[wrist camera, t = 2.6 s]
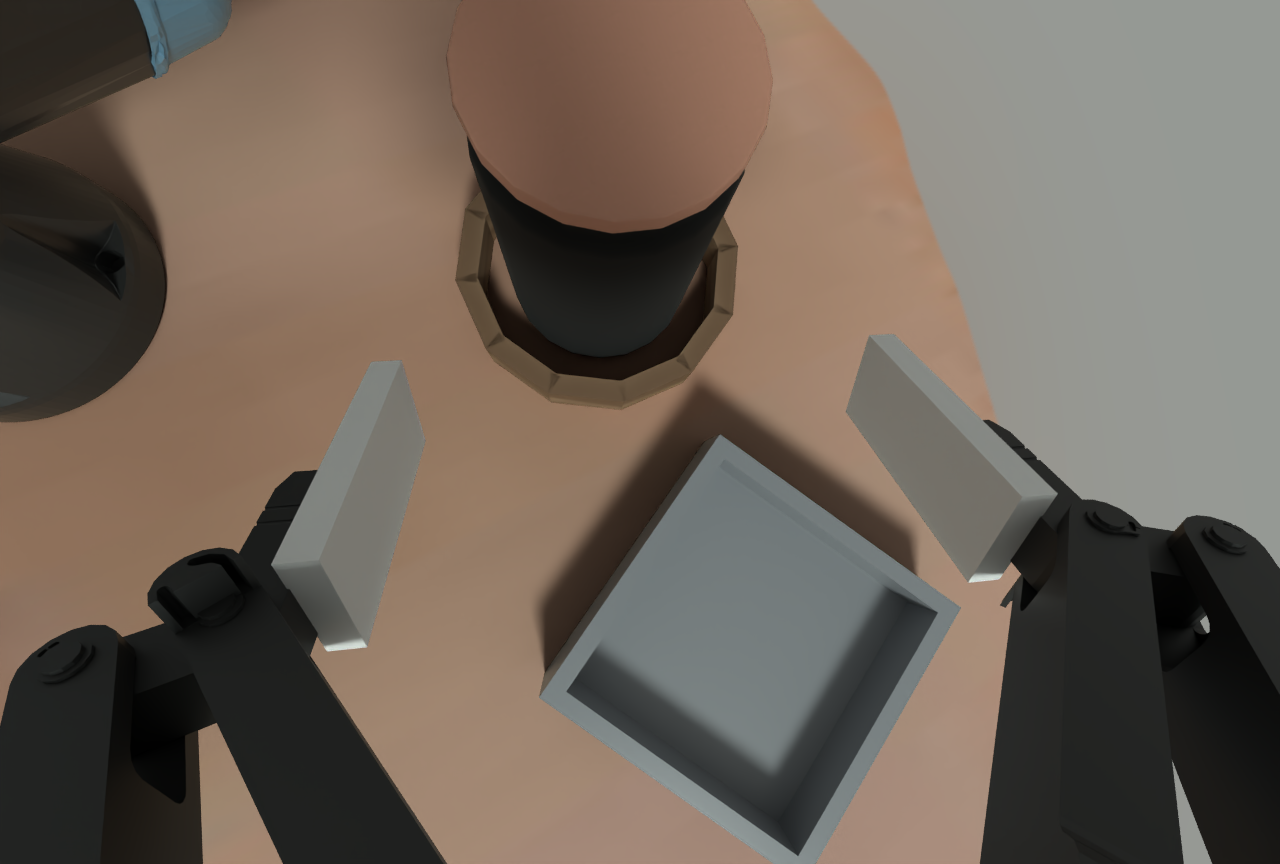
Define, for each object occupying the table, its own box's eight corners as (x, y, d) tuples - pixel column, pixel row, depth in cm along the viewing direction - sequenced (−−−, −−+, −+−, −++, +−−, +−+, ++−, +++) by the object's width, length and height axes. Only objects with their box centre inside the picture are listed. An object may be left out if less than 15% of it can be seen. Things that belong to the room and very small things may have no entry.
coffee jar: (700, 236, 36) (810, -11, 19) (652, 385, 35) (722, 270, 17) (548, 182, 36) (511, -128, 18) (492, 330, 34) (392, 152, 17)
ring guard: (415, 305, 34) (399, 286, 31) (572, 117, 36) (570, 83, 34) (629, 458, 34) (633, 454, 31) (769, 260, 37) (785, 240, 34)
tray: (544, 672, 32) (539, 697, 28) (704, 441, 35) (719, 434, 31) (776, 837, 32) (803, 884, 28) (918, 595, 35) (960, 607, 31)
